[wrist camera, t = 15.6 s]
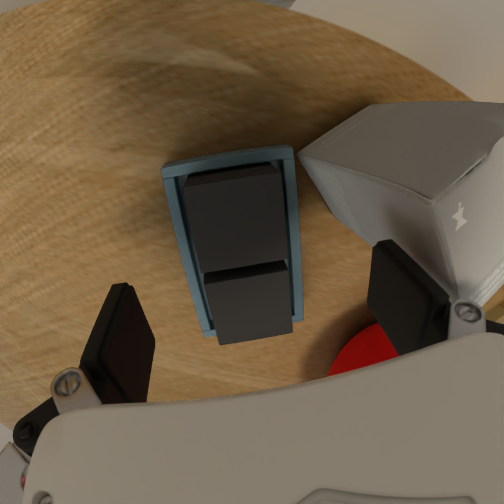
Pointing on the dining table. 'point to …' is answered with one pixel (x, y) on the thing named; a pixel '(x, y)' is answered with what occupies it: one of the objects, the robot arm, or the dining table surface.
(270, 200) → the loose pad
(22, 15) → the dining table surface
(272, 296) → the seated pad
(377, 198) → the cosmetic box
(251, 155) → the tray
